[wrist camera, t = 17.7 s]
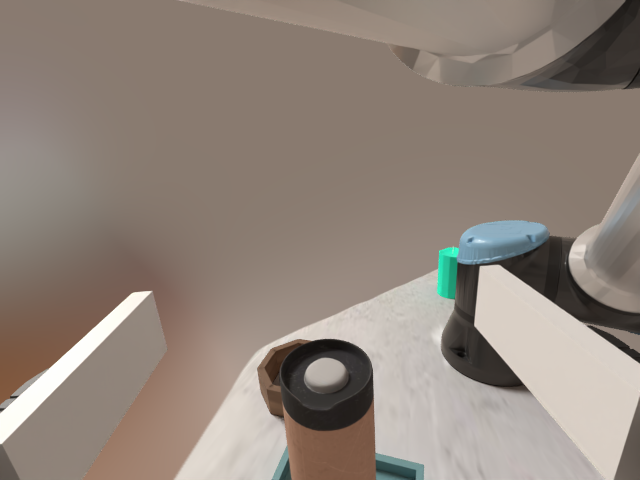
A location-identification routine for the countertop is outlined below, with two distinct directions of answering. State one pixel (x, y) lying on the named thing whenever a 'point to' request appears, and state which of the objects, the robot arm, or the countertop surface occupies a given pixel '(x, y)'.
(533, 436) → the countertop surface
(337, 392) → the travel mug
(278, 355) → the walnut collar
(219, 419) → the countertop surface
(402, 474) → the slate tray
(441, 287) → the candle
